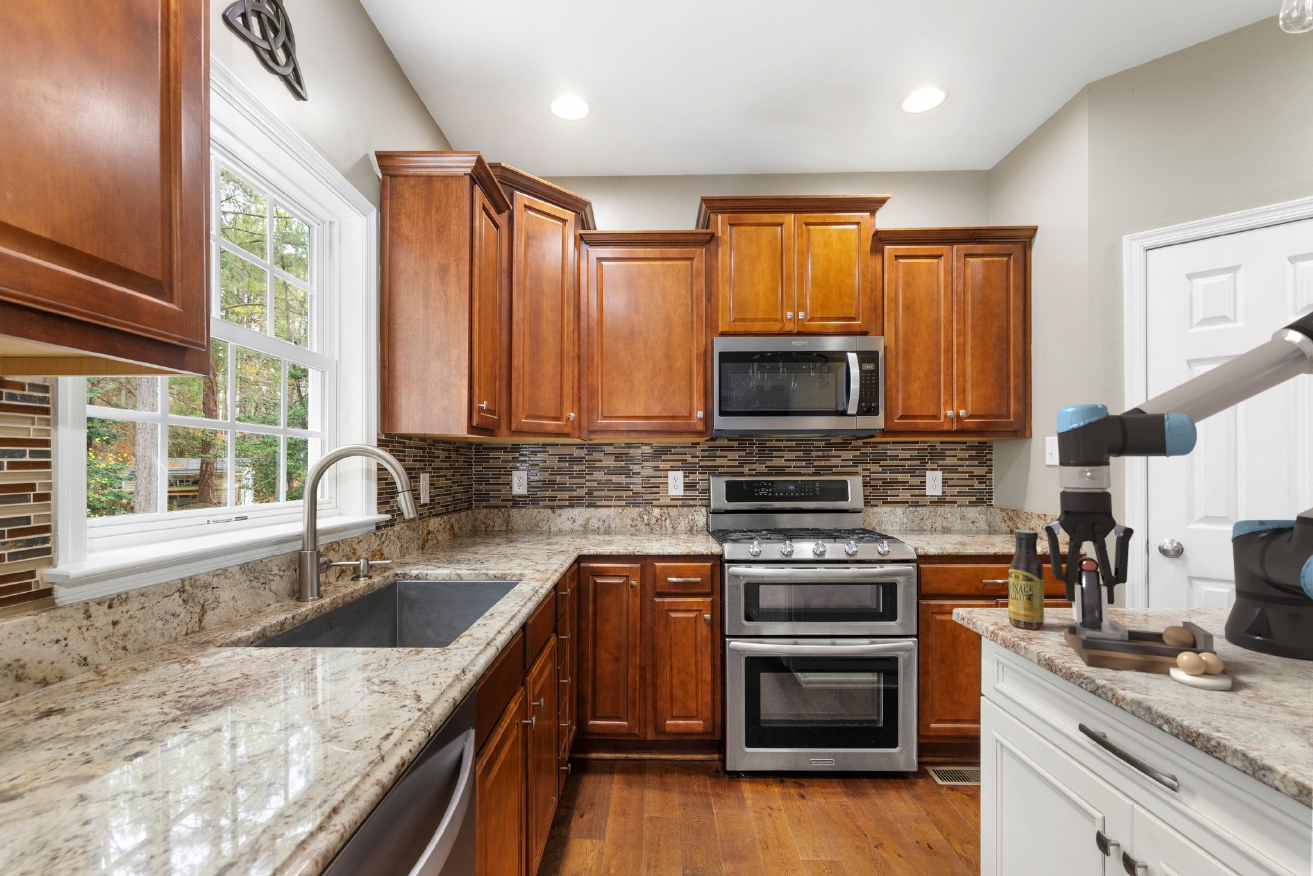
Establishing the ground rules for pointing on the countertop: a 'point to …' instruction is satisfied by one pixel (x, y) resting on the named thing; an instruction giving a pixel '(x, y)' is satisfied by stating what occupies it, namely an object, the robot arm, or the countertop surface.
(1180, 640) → the walnut
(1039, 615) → the sauce bottle
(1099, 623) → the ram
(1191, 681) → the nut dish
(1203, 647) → the tray
